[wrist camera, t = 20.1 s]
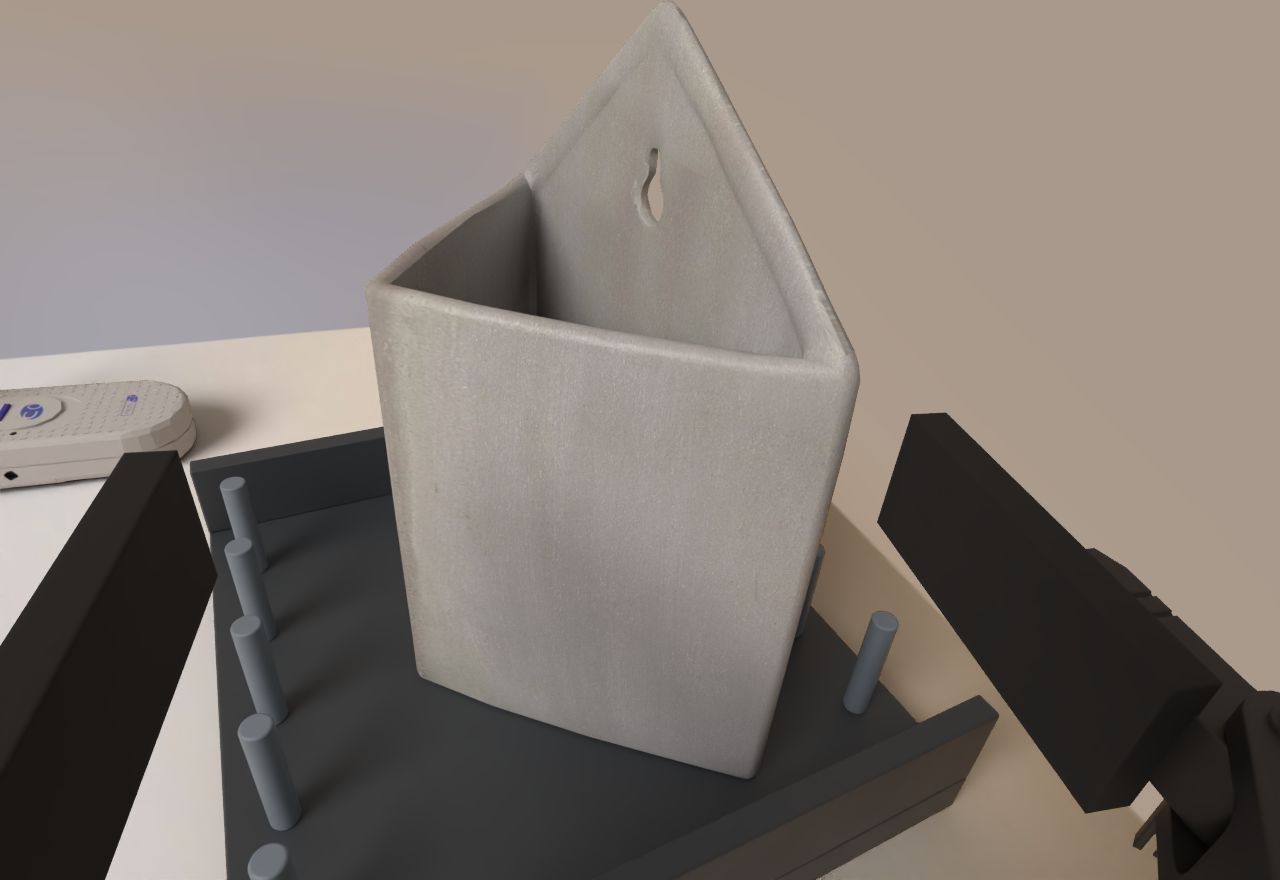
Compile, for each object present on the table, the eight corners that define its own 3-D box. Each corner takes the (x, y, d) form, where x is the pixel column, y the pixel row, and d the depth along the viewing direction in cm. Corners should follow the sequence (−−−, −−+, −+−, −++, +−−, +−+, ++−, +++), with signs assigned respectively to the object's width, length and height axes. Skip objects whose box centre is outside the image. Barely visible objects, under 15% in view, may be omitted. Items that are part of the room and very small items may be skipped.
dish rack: (648, 452, 39) (658, 358, 36) (953, 804, 24) (1013, 691, 21) (217, 550, 31) (182, 438, 28) (256, 1189, 15) (186, 1094, 12)
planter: (357, 529, 30) (256, -41, 19) (538, 480, 34) (537, -23, 23) (516, 911, 19) (481, 38, 8) (764, 773, 22) (964, 48, 12)
